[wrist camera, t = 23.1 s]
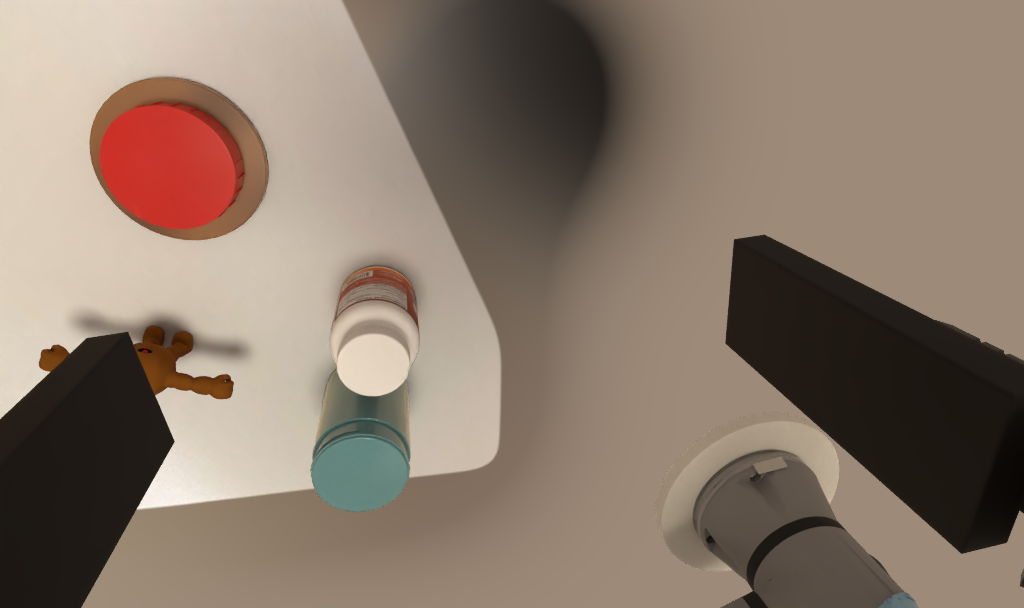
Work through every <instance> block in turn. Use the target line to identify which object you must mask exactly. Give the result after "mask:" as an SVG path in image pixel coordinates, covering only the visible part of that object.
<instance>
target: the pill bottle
mask: <svg viewBox="0 0 1024 608" xmlns="http://www.w3.org/2000/svg"><path fill="white" fill-rule="evenodd" d="M419 341H420V339H419V327H418V316H417V305H416V297H415V293H414V290H413V288H412V286H411V284H410V282H409V281H408V280H407V279H406V278H405V277H404V276H403V275H402V274H400V273H399V272H397V271H395V270H393V269H390V268H386V267H379V266H375V267H368V268H364V269H361V270H359V271H357V272H355V273H354V274H352V275H351V276H350V277H349V278H348V279H347V280H346V281H345V283H344V284H343V286H342V288H341V290H340V294H339V297H338V302H337V306H336V311H335V315H334V320H333V324H332V328H331V333H330V349H331V354H332V356H333V359H334V361H335V362H336V364H337V365H336V366H337V372H338V375H339V378H340V379H341V381H342V382H343V383H344V385H345V386H346V387H348V388H349V389H350V390H352V391H354V392H356V393H358V394H361V395H365V396H381V395H384V394H388V393H390V392H392V391H394V390H395V389H397V388H398V387H399V386H400V385H401V384H402V383H403V382H404V381H405V379H406V378H407V376H408V373H409V370H410V366H411V365H412V364H413V362H414V361H415V359H416V357H417V354H418V351H419Z"/></svg>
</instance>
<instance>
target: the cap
mask: <svg viewBox="0 0 1024 608" xmlns="http://www.w3.org/2000/svg"><path fill="white" fill-rule="evenodd" d="M99 159H100V167H101V171H102V174H103V177H104V179H105V182H106V184H107V186H108V187H109V189H110V191H111V192H112V194H113V195H114V196H115V198H116V199H117V200H118V201H119V202H120V203H121V204H122V205H123V206H124V207H125V208H126V209H128V210H129V211H130V212H131V213H133V214H134V215H136V216H137V217H139V218H141V219H143V220H145V221H147V222H149V223H151V224H154V225H157V226H161V227H165V228H170V229H190V228H196V227H199V226H203V225H206V224H207V223H209V222H211V221H213V220H214V219H216V218H217V217H220V216H221V215H222V214H223V213H224V212H225V211H226V209H227V208H228V207H230V206H231V205H232V204H233V203H234V202H235V201H236V200H235V199H236V198H237V196H238V194H239V192H240V191H241V190H242V188H241V187H242V183H243V176H244V175H245V173H244V168H243V161H242V160H243V158H242V157H241V154H240V151H239V149H238V147H237V143H235V141H234V139H233V138H232V136H231V135H230V134H229V132H228V131H227V129H225V128H224V127H223V126H222V125H221V124H220V123H219V122H218V121H217V120H215V119H214V117H211V116H210V115H208V114H207V113H205V112H203V111H201V110H199V109H198V108H197V107H196V108H194V107H191V106H189V105H185V104H181V102H178V103H173V102H163V101H160V102H156V103H152V104H150V105H146V104H145V105H141V106H136V107H135V108H134V109H131V110H129V111H127V112H125V113H123V114H121V115H120V116H119V117H117V118H116V119H115V120H114V121H113V122H112V123H111V124H110V126H109V127H108V128H107V130H106V132H105V133H104V135H103V138H102V141H101V145H100V157H99Z"/></svg>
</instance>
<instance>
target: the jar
mask: <svg viewBox="0 0 1024 608" xmlns="http://www.w3.org/2000/svg"><path fill="white" fill-rule="evenodd" d="M312 459H313V462H312V464H311V469H310V471H311V477H312V482H313V486H314V488H315V490H316V492H317V494H318V495H319V496H320V497H321V498H322V499H323V500H324V501H325V502H326V503H328V504H330V505H331V506H334V507H335V508H338V509H341V510H345V511H352V512H362V511H369V510H374V509H377V508H380V507H382V506H384V505H386V504H388V503H390V502H391V501H393V500H394V499H395V498H396V497H397V496H398V495H399V494H400V493H401V491H402V490H403V488H404V487H405V485H406V483H407V480H408V478H409V471H410V465H409V462H410V430H409V404H408V386H407V382H406V379H405V381H404V382H403V383H402V384H401V385H400V386H399V387H398V388H397V389H395V390H394V391H392V392H390V393H388V394H384V395H381V396H365V395H361V394H358V393H356V392H354V391H352V390H350V389H349V388H348V387H346V386H345V385H344V383H343V382H342V381H341V379H340V378H339V375H338V372H337V369H336V370H335V371H334V372H333V373H332V375H331V376H330V378H329V380H328V382H327V386H326V391H325V396H324V401H323V405H322V410H321V415H320V420H319V425H318V430H317V435H316V440H315V445H314V449H313V457H312Z"/></svg>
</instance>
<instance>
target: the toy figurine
mask: <svg viewBox="0 0 1024 608" xmlns="http://www.w3.org/2000/svg"><path fill="white" fill-rule="evenodd" d="M142 341H143V342H142V343H138V344H134V347H135V350H136V352H137V354H138V357H139V359H140V361H141V364H142V366H143V368H144V371H145V373H146V375H147V378H148V380H149V383H150V385H151V387H152V390H153V392H154V394H155V395H156V394H158V393H160V392H162V391H163V390H165V389H166V388H167V387H169V388H176V389H178V390H184V391H187V390H192V391H193V392H195V393H198V394H202V395H208V394H210V395H211V396H212V397H214V398H216V399H228V398H230V397H231V395H232V392H233V385H234V382H233V381H231V377H230V376H229V375H228V374H226V375H219V376H217V377H215V378H211V377H207V376H200V377H196V378H193V377H192V376H190V375H188V374H184V373H178V372H176V361H177V360H178V358H179V357H182V356H184V355H186V354H187V353H189V352H191V350H192V348H193V337H192V335H190V334H189V333H187V332H179V333H177V334H176V335H175V336H174V339H173V342H172V346H171V347H169V348H165V347H163V346H162V345H163V342H164V332H163V330H162V329H161V328H159V327H156V326H150V327H147V328H146V330H145V332H144V335H143V340H142ZM68 355H69V352H68V351H67V350H66V349H65V348H64V347H62V346H60V345H53V346H52V348H51V349H44V350H42V352H41V358H40V361H39V366H40V368H41V369H43V370H45V371H50V372H51V371H52V370H53V369H54V368H55V367H57V366H58V365H59V364H60V363H61V362H62V361H63V360H64V359H65V358H66V357H67V356H68ZM225 380H226V382H225Z"/></svg>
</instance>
